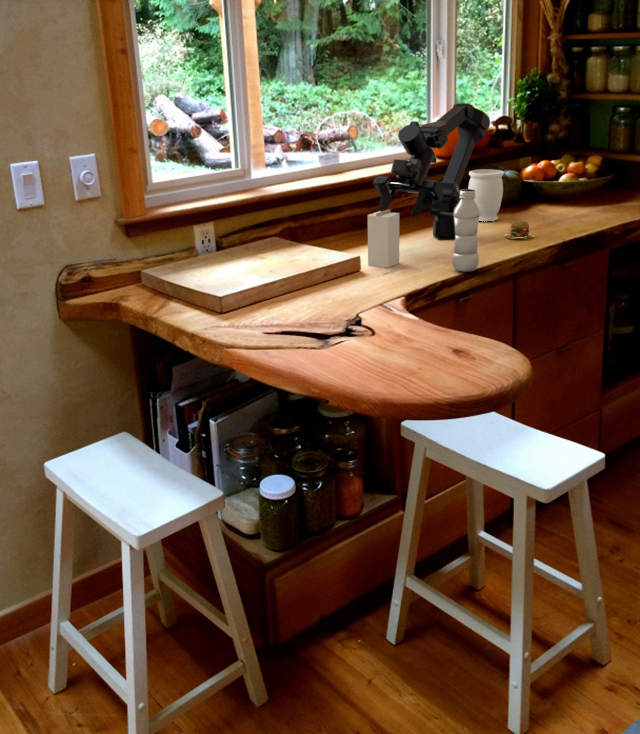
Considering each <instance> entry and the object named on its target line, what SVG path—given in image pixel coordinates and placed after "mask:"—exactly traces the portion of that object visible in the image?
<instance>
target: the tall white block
mask: <svg viewBox="0 0 640 734" xmlns="http://www.w3.org/2000/svg"><path fill="white" fill-rule="evenodd" d="M391 211H392V209H389V208H387V210H385V211H380V210H379V211H376V212H373V213H369V214H367V264H368V266H371V265H372V267H379V268H384V267H387V268H386V269H389V268H391V267H393V265H394V266H396V265H398V264H400V212H391ZM397 263H398V264H397ZM395 264H396V265H395Z"/></svg>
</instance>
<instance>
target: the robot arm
mask: <svg viewBox="0 0 640 734" xmlns="http://www.w3.org/2000/svg"><path fill="white" fill-rule="evenodd" d="M490 126H491V119H490V117H489V116H488V115H487V114H486V113H485V112H484V111H483V110H481V109H478V108H476V107H475V106H474V105H473V104H471V103H469V102H466V103H465V102H462V103H461V102H458V103H455V104H453V106H452V108H451V109H449V110H448V111H447V112H446V113H444V114H443V115H442V116H440V118H438V119H437V120H436V121H433V122H427V123H425V124H422V125H420V123H419V121H415V120H414V121H410V123H409V124H407V125H405V126H403V127H402V128H401V129H400V130H399V131H398V135H397V138H398V140H399V142H400V143H401V145H402V146H403V149H404V150H405V152H406V154H407V155H410V157H409V159H408V160H407V159H396V158H395V159H393V161H392V165H391V169H390V172H391V173H392V174H395V175H396V176H395V179H396V180H397V181H398V182H393V180H392V178H391V177H390V176H383V175H382V176H381V175H379V176H376V177H375V179H374V180H373V182H372V184H373V186H374V188H375V190H376V191H377V192H378V194H379V196H380V205H379V211H385V210H388V209H389V207H390V205H391V203H392V202H393V200H394V197H393V196H395V194H396V192H405V193H406V192H407V193H411V194H417V195H418V196H417V198H416V200H415V202H414V205H413V207H412V209H411V212H410V218H411V219H414V218H415V217H416V216H417V215H419V214H420V213H421V212H423V210H425V209H427V208H428V211H429V216H430V217H434V220H433V222H432V235H433V237H434V238H436V239H437V240H439V241H441V240H452V239H453V240H455V224H454V216H453V212H454V208H455V207H456V205H457V204H458V202H459V201H460V198H459V196H460V190H461V189H460V185H461V183H462V179H463V177H464V174H465V172H466V169H467V167H468V164H469V161H470V159H471V156H472V154H473V151H474V149H475V146H476V145H477V143H479V142H480V141H481V140H483V139H484V138H485V136H486V134H487V132H488V130H489V128H490ZM456 128H457V131H458V135H459V138H458V141H457V143H456V146H455V148H454V151H453V153H452V156H451V159H450V161H449V164H448V166H447V169H446V172H445V173H444V176H443V179H442V180H441V181H438V180H431V179H428V178H429V176H428V172H429V169H430V167H431V165H432V164H437V162H438V161H437V157H436V153H435V152H434V149H442V148H443V147H444V146H445V145H446V143H447V142H448V141H449V135H450V134H451V133H452V132H453V131H455V130H456Z"/></svg>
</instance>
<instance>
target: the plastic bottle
mask: <svg viewBox="0 0 640 734" xmlns="http://www.w3.org/2000/svg"><path fill="white" fill-rule="evenodd" d="M459 190H460V196H459V198H460V201H459V202H458V204H457V205H456V207H455V208H454V212H453V216H454V224H455V239H454V246H453V247H454V248H453V254H452V258H451V259H452V260H451V263H452V267H453V269H454V270H455V271H458V272H465V273H468V272H469V273H470V272H474V271H476V269H478V267H479V264H480V263H479V262H480V261H479V253H478V229H479V228H478V227H479V223H480V222H479V216H480V210H479V207H478V205H477V204H476V202H475V201H474V198H475V190H474V189H468V188H464V189H459Z"/></svg>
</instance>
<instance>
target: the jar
mask: <svg viewBox="0 0 640 734" xmlns="http://www.w3.org/2000/svg"><path fill="white" fill-rule="evenodd" d="M504 173H505V171H503V170H500V169H492V168H491V169H489V168H488V169H487V168H486V169H485V168H482V169H474V170H470V171H469V172H468V175H469V177H470V179H469V182H468V187H467V189H474V190H475V198H474V201H475V202H476V204H477V205H478V207H479V210H480V216H479V221H482V222H481V223H486V222H485V221H493V222H496V221H495V220H497V219H498V220H499V217H498V215H497V214H498V213H499V212H500V208H501V204H502V200H503V195H504V183H503V178H502V177H503V176H504ZM498 220H497V221H498ZM483 221H484V222H483Z"/></svg>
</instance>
